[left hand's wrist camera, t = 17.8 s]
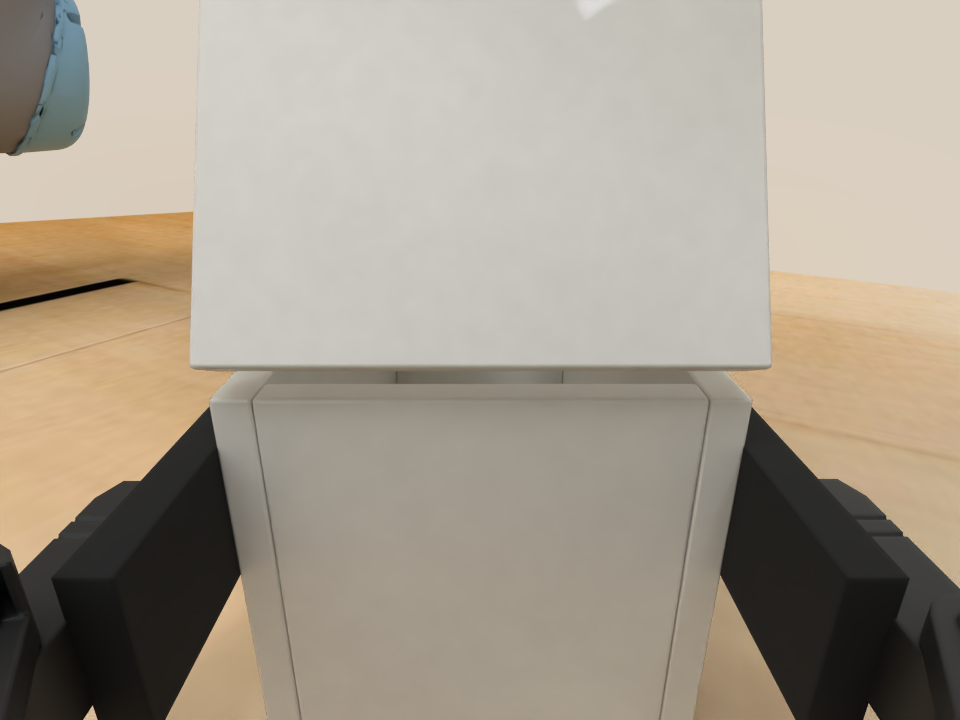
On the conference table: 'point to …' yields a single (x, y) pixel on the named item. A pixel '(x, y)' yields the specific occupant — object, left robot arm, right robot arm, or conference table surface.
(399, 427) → the chest
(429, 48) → the lid
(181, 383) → the conference table surface
